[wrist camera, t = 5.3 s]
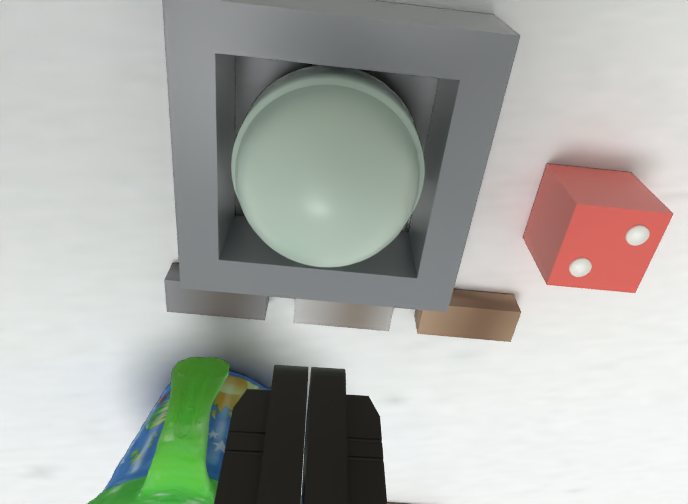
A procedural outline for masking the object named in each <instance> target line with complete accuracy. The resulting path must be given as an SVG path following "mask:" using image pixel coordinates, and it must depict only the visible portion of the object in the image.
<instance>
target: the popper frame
mask: <svg viewBox="0 0 688 504" xmlns="http://www.w3.org/2000/svg"><path fill="white" fill-rule="evenodd" d="M162 2H163V18H164V33H165V49H166V65H167V81H168V97H169V113H170V128H171V144H172V160H173V176H174V192H175V208H176V223H177V239H178V255H179V271H180V287H181V288H183V289H194V290H205V291H216V292H228V293H239V294H250V295H261V296H272V297H283V298H294V299H305V300H317V301H328V302H339V303H350V304H361V305H372V306H383V307H394V308H405V309H417V310H428V311H439V312H448V308H449V305H450V301H451V297H452V293H453V289H454V286H455V282H456V278H457V274H458V270H459V267H460V263H461V259H462V255H463V251H464V248H465V244H466V240H467V236H468V232H469V229H470V225H471V221H472V217H473V213H474V210H475V206H476V202H477V198H478V194H479V190H480V187H481V183H482V179H483V175H484V171H485V168H486V164H487V160H488V156H489V152H490V149H491V145H492V141H493V137H494V133H495V130H496V126H497V122H498V118H499V114H500V111H501V107H502V103H503V99H504V95H505V92H506V88H507V84H508V80H509V76H510V73H511V69H512V65H513V61H514V57H515V54H516V50H517V46H518V42H519V38H520V35H519V34H518V33H517V32H515V31H514V30H513V29H512V28H510V27H509V26H508V25H507V24H505V23H504V22H503V21H502V20H500V19H499V18H498V17H497V16H495V15H493V14H485V13H476V12H468V11H459V10H451V9H442V8H434V7H425V6H417V5H408V4H400V3H391V2H383V1H374V0H162ZM235 55H236V56H245V57H254V58H263V59H272V60H281V61H290V62H299V63H308V64H317V65H326V66H335V67H344V68H353V69H362V70H371V71H380V72H389V73H398V74H407V75H416V76H425V77H434V78H439V81H438V86H437V91H436V96H435V101H434V106H433V111H432V116H431V121H430V126H429V132H428V137H427V142H426V147H425V152H424V170H425V175H424V183H423V188H422V192H421V195H420V198H419V201H418V203H417V205H416V207H415V209H414V211H413V213H412V218H411V223H410V228H409V232H404V231H401V232H400V233H399V234H398V235H397V237H396V238H395V239H394V240H393V241H392V242H391V243H390V244H388V245H387V246H386V247H385V248H383V249H382V250H381V251H379V252H378V253H377V254H375V255H373V256H371V257H370V258H368V259H365V260H363V261H361V262H358V263H354V264H351V265H346V266H341V267H316V266H309V265H305V264H302V263H298V262H296V261H293V260H290V259H288V258H286V257H284V256H282V255H281V254H279V253H278V252H276V251H275V250H273V249H272V248H271V247H269V246H268V245H267V244H266V243H265V242H264V241H263V240H262V239H261V238H260V237H259V236H258V235H257V234H256V232H255V231H254V230H253V228H252V227H251V226H250V224H249V223H248V221H247V219H246V217H245V216H239V215H235V190H234V185H233V181H232V172H231V161H232V152H233V148H234V143H235Z"/></svg>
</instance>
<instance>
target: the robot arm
mask: <svg viewBox="0 0 688 504" xmlns="http://www.w3.org/2000/svg"><path fill="white" fill-rule="evenodd" d="M307 385H308V367H300V366H285V365H275V366H274V372H273V380H272V388H271V390H259V389H247V390H246V391H245V392H244V394H243V395H242V396H241V398H240V399H239V400H238V402H237V403H236V404H235V406H234V407H233V410H232V415H231V420H230V425H229V430H228V435H227V440H226V445H225V452H224V455H223V460H222V465H221V470H220V475H219V480H218V485H217V490H216V495H215V500H214V504H387V497H386V485H385V472H384V462H383V448H382V436H381V424H380V416H379V414H378V412H377V410H376V409H375V407H374V405H373V403H372V402H371V400H370V398H369V396H360V395H346V374H345V369H334V368H318V367H311V375H310V386H309V397H308V408H307V419H306V402H307ZM305 419H306V432H305ZM304 436H305V447H304ZM303 453H304V464H303ZM302 470H303V482H302ZM301 487H302V499H301Z"/></svg>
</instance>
